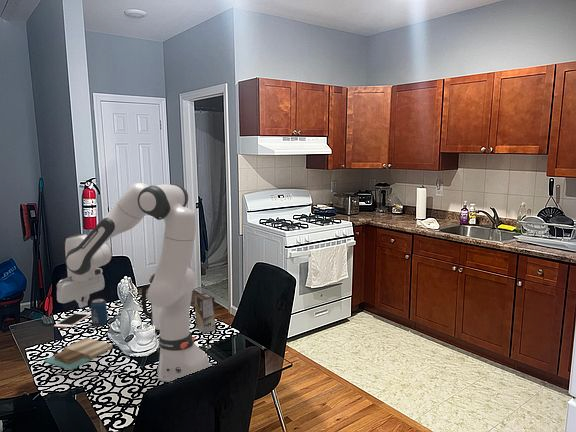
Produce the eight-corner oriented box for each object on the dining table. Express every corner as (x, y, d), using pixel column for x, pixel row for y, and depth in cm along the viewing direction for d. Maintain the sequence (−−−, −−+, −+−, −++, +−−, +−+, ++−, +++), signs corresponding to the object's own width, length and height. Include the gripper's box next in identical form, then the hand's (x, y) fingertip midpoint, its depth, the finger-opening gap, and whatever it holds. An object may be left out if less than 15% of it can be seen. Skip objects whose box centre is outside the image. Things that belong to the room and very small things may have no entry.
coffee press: (179, 320, 212) (177, 261, 207) (184, 332, 197) (181, 270, 192) (143, 325, 205) (139, 265, 201) (144, 338, 191) (141, 274, 186)
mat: (90, 360, 171) (90, 359, 171) (70, 370, 163) (70, 369, 163) (63, 352, 177) (63, 351, 177) (43, 361, 170) (43, 360, 170)
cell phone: (92, 314, 220) (92, 312, 220) (70, 328, 203) (70, 326, 202) (77, 313, 222) (77, 311, 221) (53, 327, 204) (53, 325, 204)
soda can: (107, 320, 211) (105, 297, 210) (107, 325, 205) (106, 301, 203) (92, 322, 209) (90, 299, 207) (92, 327, 202) (90, 303, 201)
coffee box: (216, 330, 200) (215, 297, 197) (203, 333, 196) (202, 300, 194) (207, 323, 207) (206, 292, 205) (195, 327, 203) (193, 295, 201)
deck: (112, 348, 181) (112, 344, 180) (90, 360, 171) (90, 355, 171) (86, 341, 188) (86, 337, 187) (64, 352, 178) (63, 347, 177)
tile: (82, 357, 172) (82, 353, 172) (69, 364, 167) (69, 359, 166) (68, 353, 176) (67, 348, 176) (54, 359, 171) (54, 354, 170)
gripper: (62, 281, 160) (66, 316, 162) (105, 268, 179) (108, 299, 181) (51, 280, 163) (54, 314, 165) (94, 266, 181) (97, 297, 183)
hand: (83, 306), depth 173 cm, fingers closed
